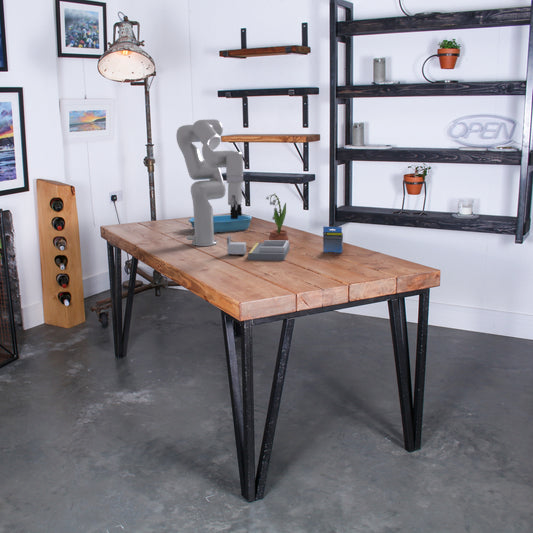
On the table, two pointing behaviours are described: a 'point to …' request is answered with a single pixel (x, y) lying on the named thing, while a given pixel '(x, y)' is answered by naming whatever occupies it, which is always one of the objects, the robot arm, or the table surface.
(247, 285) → the table surface
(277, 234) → the potted flower
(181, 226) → the table surface
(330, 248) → the label tape cartridge
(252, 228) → the table surface
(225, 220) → the casserole dish
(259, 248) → the dock
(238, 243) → the lidded storage box
